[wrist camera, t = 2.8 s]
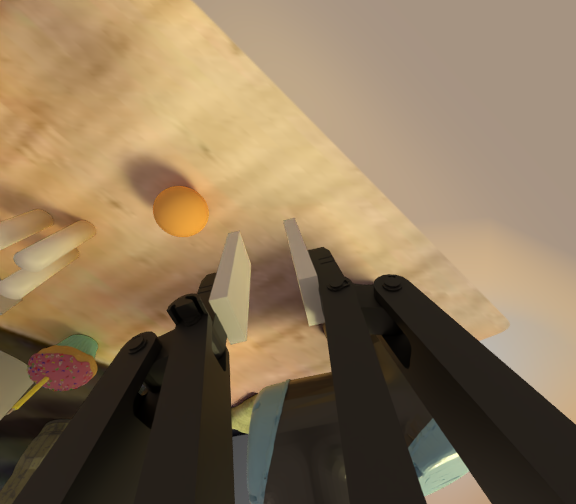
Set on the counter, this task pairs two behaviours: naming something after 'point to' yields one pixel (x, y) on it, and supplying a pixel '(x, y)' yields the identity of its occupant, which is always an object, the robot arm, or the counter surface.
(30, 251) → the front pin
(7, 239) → the pin
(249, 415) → the washcloth
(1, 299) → the white long bar
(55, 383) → the cupcake
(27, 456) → the thermos
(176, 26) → the counter surface
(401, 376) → the robot arm
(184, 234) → the ball
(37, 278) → the pin
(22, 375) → the lumpy-topped squat cylinder
